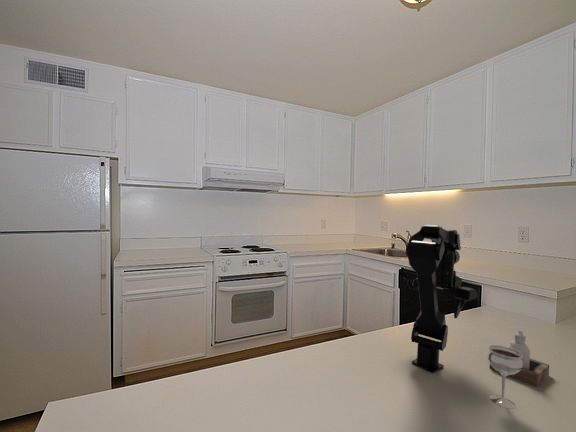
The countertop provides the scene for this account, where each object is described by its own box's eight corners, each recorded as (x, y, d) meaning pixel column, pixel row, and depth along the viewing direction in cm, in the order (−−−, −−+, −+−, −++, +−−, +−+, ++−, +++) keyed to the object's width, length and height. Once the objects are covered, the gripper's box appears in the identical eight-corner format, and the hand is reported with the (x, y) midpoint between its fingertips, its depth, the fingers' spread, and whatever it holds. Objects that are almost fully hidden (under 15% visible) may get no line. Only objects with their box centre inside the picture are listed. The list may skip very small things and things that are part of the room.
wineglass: (481, 399, 70) (484, 349, 70) (490, 389, 75) (492, 342, 75) (516, 414, 65) (519, 361, 65) (523, 403, 70) (526, 353, 70)
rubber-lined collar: (537, 386, 78) (537, 375, 78) (489, 367, 87) (490, 357, 87) (548, 375, 84) (549, 364, 84) (503, 359, 93) (504, 349, 93)
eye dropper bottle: (509, 372, 84) (512, 331, 84) (508, 365, 89) (510, 325, 89) (529, 378, 82) (531, 335, 82) (526, 369, 87) (528, 329, 87)
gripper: (486, 270, 94) (483, 319, 94) (430, 261, 110) (427, 303, 110) (469, 272, 88) (467, 324, 88) (412, 262, 103) (410, 307, 103)
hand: (441, 313), depth 97 cm, fingers open, 9 cm apart
